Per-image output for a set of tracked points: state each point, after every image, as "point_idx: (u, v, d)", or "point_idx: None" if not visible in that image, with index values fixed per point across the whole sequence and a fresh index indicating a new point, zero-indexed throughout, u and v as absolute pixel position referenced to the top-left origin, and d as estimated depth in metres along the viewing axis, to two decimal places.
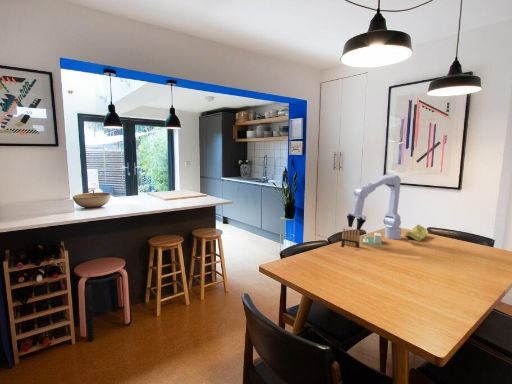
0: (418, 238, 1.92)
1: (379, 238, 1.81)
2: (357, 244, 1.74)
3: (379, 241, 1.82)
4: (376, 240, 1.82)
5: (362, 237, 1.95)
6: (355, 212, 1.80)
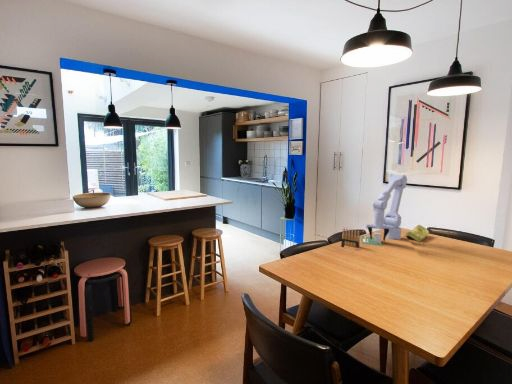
0: (418, 238, 1.92)
1: (379, 238, 1.81)
2: (357, 244, 1.74)
3: (379, 241, 1.82)
4: (376, 240, 1.82)
5: (362, 237, 1.95)
6: (381, 225, 1.81)
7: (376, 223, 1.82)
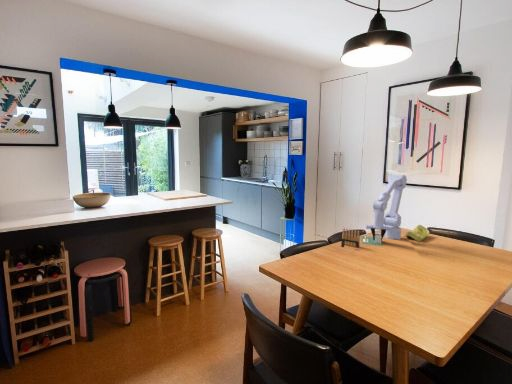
0: (418, 238, 1.92)
1: (379, 238, 1.81)
2: (357, 244, 1.74)
3: (379, 241, 1.82)
4: (376, 240, 1.82)
5: (362, 237, 1.95)
6: (381, 225, 1.81)
7: (376, 224, 1.82)
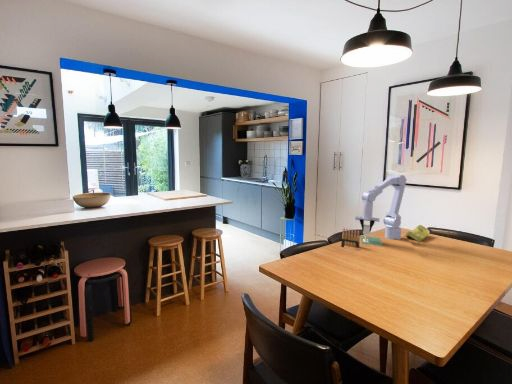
0: (418, 238, 1.92)
1: (368, 229, 1.83)
2: (357, 244, 1.74)
3: (368, 232, 1.83)
4: (365, 231, 1.83)
5: (362, 237, 1.95)
6: (369, 217, 1.83)
7: (365, 215, 1.83)
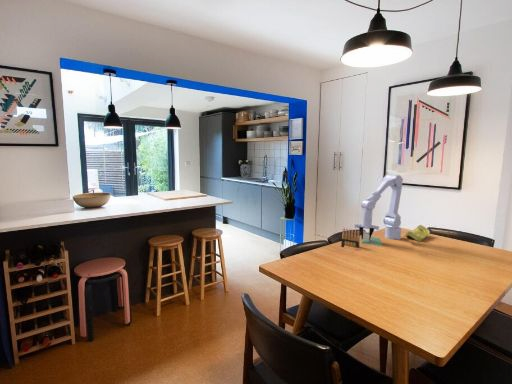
0: (418, 238, 1.92)
1: (367, 237, 1.83)
2: (357, 244, 1.74)
3: (367, 240, 1.84)
4: (364, 239, 1.84)
5: None
6: (369, 224, 1.83)
7: (364, 223, 1.84)
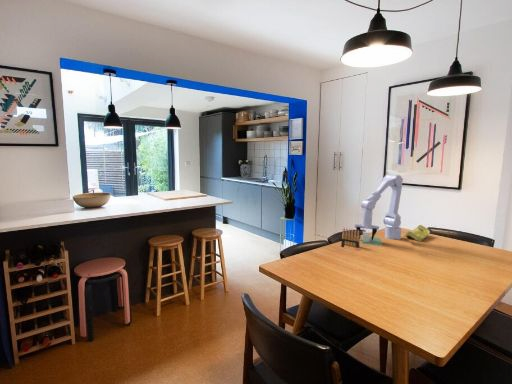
0: (418, 238, 1.93)
1: (367, 237, 1.83)
2: (357, 244, 1.74)
3: (367, 240, 1.84)
4: (364, 239, 1.84)
5: (362, 237, 1.95)
6: (369, 224, 1.83)
7: (364, 223, 1.84)
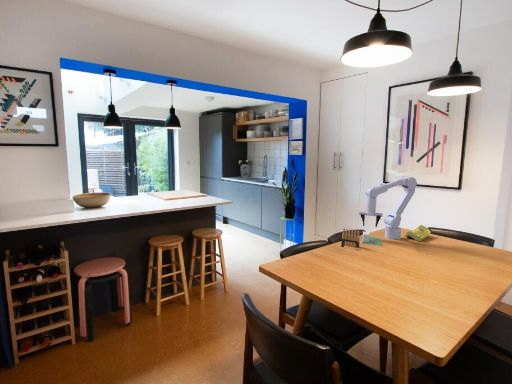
0: (418, 238, 1.93)
1: (367, 237, 1.83)
2: (357, 244, 1.74)
3: (367, 240, 1.84)
4: (364, 239, 1.84)
5: (362, 237, 1.95)
6: (373, 212, 1.89)
7: (368, 210, 1.90)
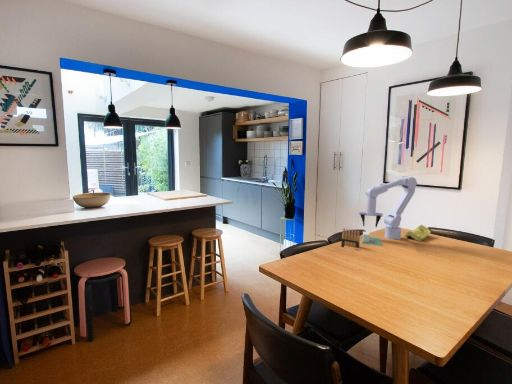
0: (418, 238, 1.93)
1: (367, 237, 1.83)
2: (357, 244, 1.74)
3: (367, 240, 1.84)
4: (364, 239, 1.84)
5: (362, 237, 1.95)
6: (373, 212, 1.89)
7: (368, 210, 1.90)
